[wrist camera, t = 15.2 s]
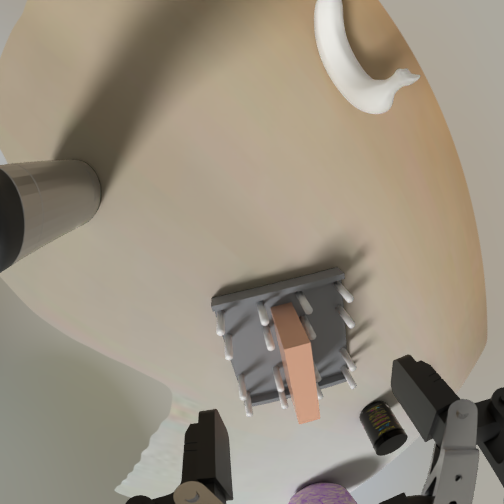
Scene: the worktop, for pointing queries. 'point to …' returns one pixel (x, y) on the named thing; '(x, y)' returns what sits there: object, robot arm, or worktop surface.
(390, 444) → the supplement container
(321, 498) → the bowl of food
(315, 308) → the rack
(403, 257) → the worktop surface
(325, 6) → the white plaster fruit
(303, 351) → the block
